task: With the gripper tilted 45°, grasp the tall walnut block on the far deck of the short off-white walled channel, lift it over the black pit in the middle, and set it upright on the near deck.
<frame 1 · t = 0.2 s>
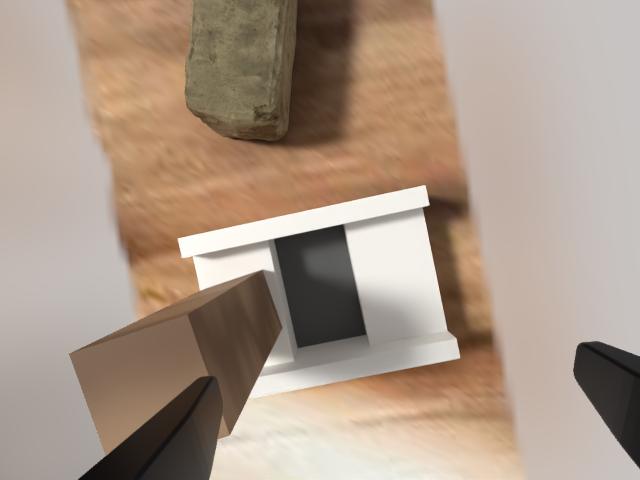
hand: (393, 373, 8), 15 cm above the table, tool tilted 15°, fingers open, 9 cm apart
stone block: (256, 63, 24), on the table
walled channel: (320, 286, 24), on the table
walnut block: (243, 308, 21), point 2 cm above the table, touching walled channel
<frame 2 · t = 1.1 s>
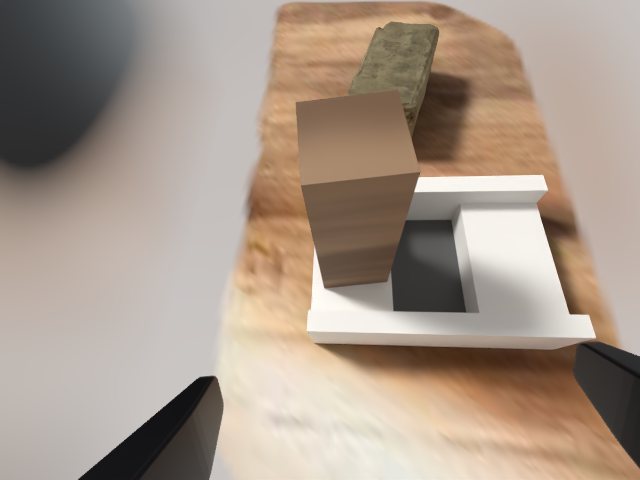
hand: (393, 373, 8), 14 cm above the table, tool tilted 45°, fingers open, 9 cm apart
stone block: (389, 109, 31), on the table
walled channel: (421, 270, 23), on the table
walnut block: (351, 256, 22), point 2 cm above the table, touching walled channel
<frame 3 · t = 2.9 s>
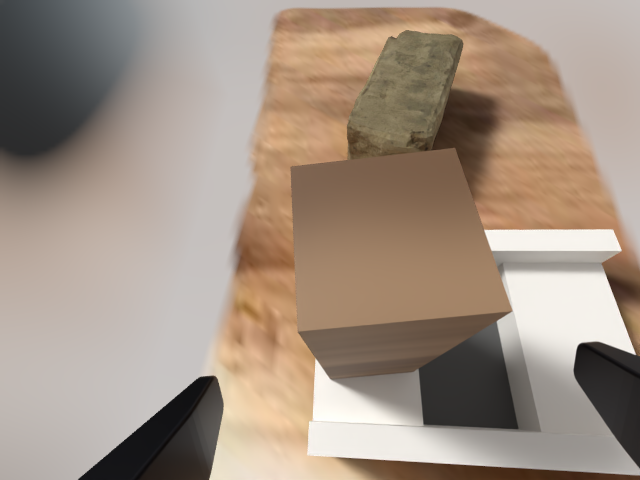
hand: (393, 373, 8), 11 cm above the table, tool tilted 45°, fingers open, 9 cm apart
stone block: (399, 132, 27), on the table
walled channel: (453, 345, 19), on the table
walnut block: (365, 333, 17), point 2 cm above the table, touching walled channel
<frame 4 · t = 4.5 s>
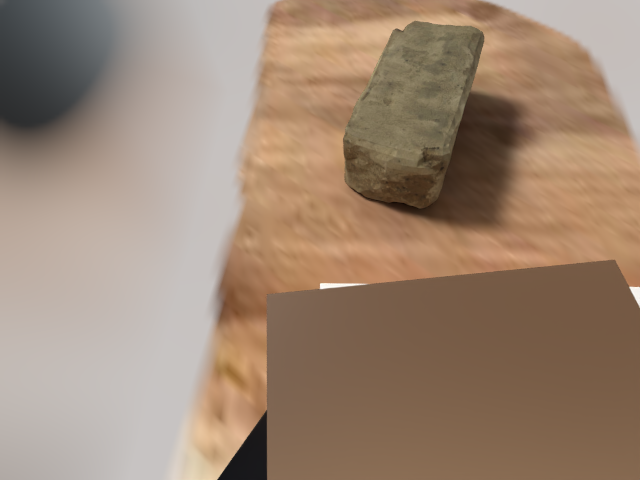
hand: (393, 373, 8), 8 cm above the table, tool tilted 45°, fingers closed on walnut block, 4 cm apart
stone block: (406, 142, 23), on the table
walnut block: (382, 425, 13), point 2 cm above the table, touching gripper, walled channel
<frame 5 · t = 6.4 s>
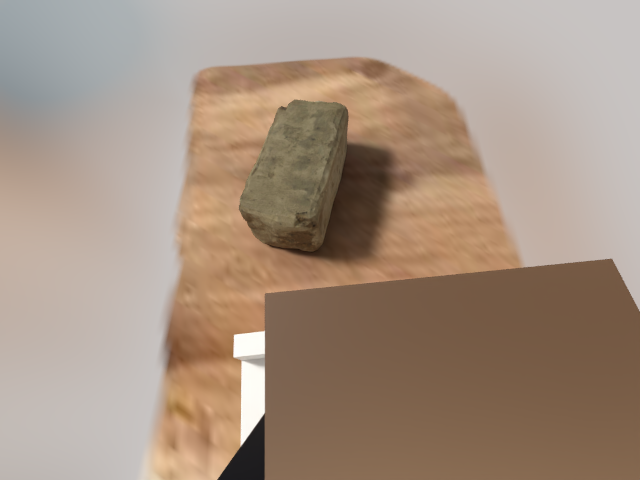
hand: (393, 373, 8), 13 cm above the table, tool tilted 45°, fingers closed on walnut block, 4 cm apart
stone block: (304, 193, 28), on the table
walled channel: (378, 422, 19), on the table
walnut block: (382, 424, 13), point 8 cm above the table, touching gripper
when the fingers open (9 cm above the table, at t = 8.2 s): walnut block drops 1 cm, resting on walled channel.
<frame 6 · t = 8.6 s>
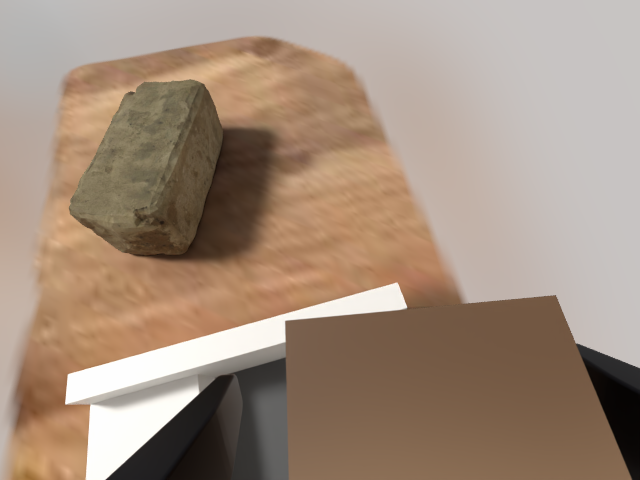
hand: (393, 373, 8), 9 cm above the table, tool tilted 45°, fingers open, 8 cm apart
stone block: (178, 189, 24), on the table
walled channel: (276, 450, 16), on the table
walnut block: (380, 424, 14), point 3 cm above the table, touching walled channel
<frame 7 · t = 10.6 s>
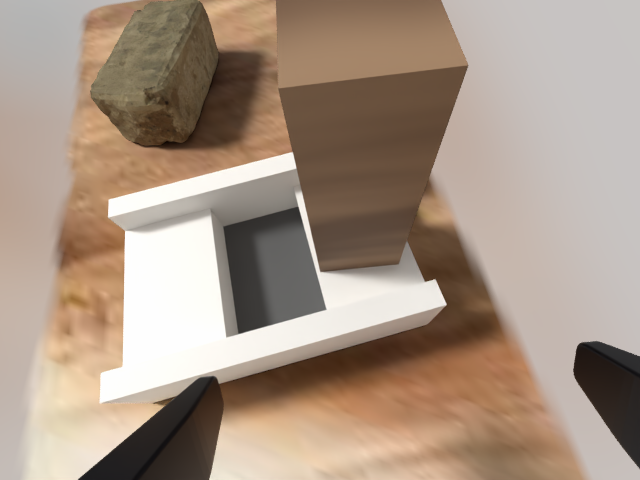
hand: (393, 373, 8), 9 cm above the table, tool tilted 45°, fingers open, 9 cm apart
stone block: (180, 99, 28), on the table
walled channel: (273, 274, 20), on the table
walnut block: (354, 233, 18), point 2 cm above the table, touching walled channel
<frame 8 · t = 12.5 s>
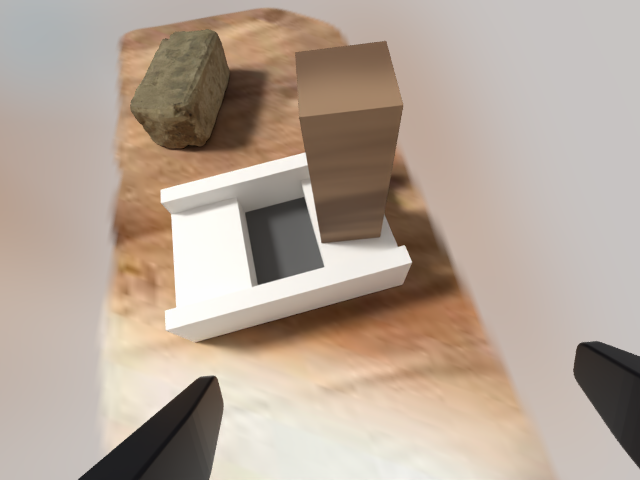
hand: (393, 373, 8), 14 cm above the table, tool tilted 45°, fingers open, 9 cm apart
stone block: (197, 110, 34), on the table
walled channel: (285, 248, 25), on the table
walnut block: (347, 215, 23), point 2 cm above the table, touching walled channel
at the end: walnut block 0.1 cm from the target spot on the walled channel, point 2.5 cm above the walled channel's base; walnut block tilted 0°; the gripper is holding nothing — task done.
